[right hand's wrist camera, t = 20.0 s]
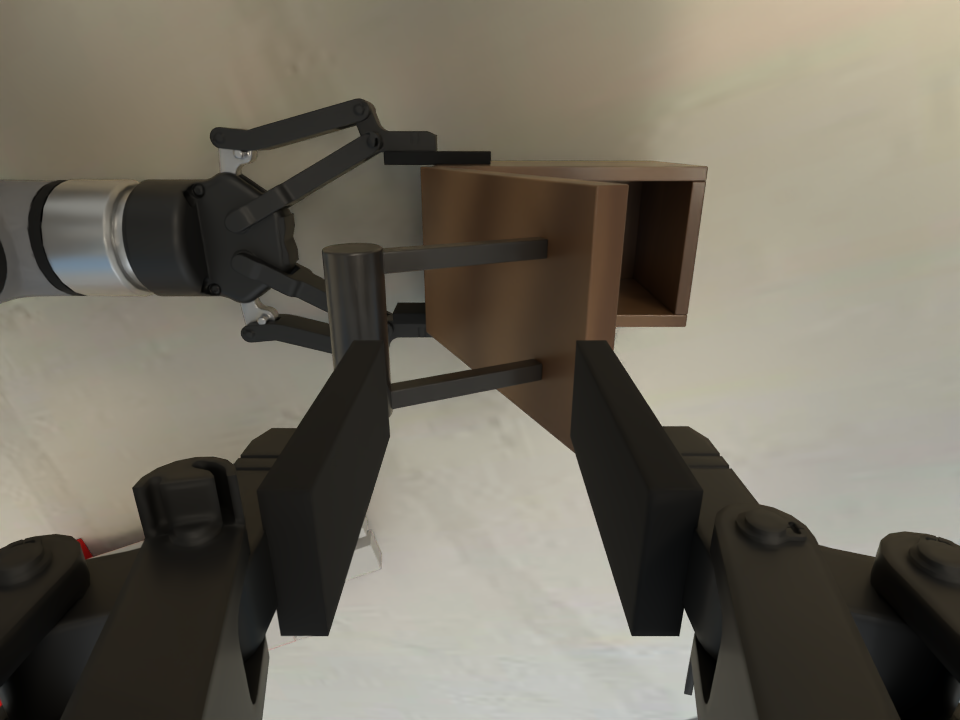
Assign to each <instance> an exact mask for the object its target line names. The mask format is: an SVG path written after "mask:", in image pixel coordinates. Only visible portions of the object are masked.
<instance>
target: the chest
mask: <svg viewBox="0 0 960 720" xmlns="http://www.w3.org/2000/svg"><path fill="white" fill-rule="evenodd" d="M433 167H451V168H462V169H472V170H482V171H493V172H503V173H514V174H524V175H535V176H545V177H556V178H566V179H577V180H587V181H598V182H608V183H619V184H627V185H628V186H629V188H628V199H627V210H626V221H625V232H624V242H623V253H622V264H621V275H620V286H619V296H618V307H617V318H616V327H685V326H686V320H687V315H686V314H688V307H689V299H690V292H691V285H692V278H693V271H694V264H695V256H696V249H697V242H698V235H699V228H700V221H701V214H702V206H703V199H704V192H705V185H706V182H705V181H706V177H707V170H708V167H707V166H697V165H687V164H677V163H667V162H657V161H491V164H436V165H434V166H433Z"/></svg>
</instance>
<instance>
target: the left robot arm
mask: <svg viewBox="0 0 960 720" xmlns="http://www.w3.org/2000/svg"><path fill="white" fill-rule="evenodd" d="M356 125H357V128H358V130H359V132H360V135H361V136H360V137H359V138H357V139H355V140H354V141H352V142H350V143H349V144H347V145H345V146H344V147H342V148H340V149H339V150H337V151H335V152H334V153H332V154H330V155H329V156H327V157H325V158H324V159H322V160H320V161H319V162H317V163H315V164H314V165H312V166H310V167H309V168H307V169H305V170H304V171H302V172H300V173H299V174H297V175H295V176H294V177H292V178H290V179H289V180H287V181H285V182H284V183H282V184H280V185H278V186H276V187H274V188H272V189H270V190H269V191H266V190H265V189H263V188H262V187H260V186H259V185H257V184H256V183H255V182H253V181H252V180H250V179H249V178H247V177H246V176H244V175H243V174H241V171H242V168H243V166H244V165H246V164H248V163H253V162H254V161H255V160H256V159H257V151H259V150H271V149H275V148H279V147H282V146H286V145H289V144H293V143H296V142H300V141H303V140H307V139H310V138H314V137H318V136H321V135H325V134H328V133H332V132H335V131H339V130H342V129H346V128H349V127H353V126H356ZM210 139H211V142H212V143H213V145H214V146H216V147H217V148H218V149H219V164H220V173H218V174H216V175H215V176H213V177H212V178H210V179H207V180H144V181H142V182H138V181H136V180H58V181H33V180H0V303H3V302H6V301H9V300H13V299H17V298H23V297H33V296H150V295H153V294H156V295H159V296H223V297H227V298H230V299H232V300H234V301H236V302H239V303H240V304H241V308H242V312H243V316H244V320H245V324H246V326H245V327H244V328H243V329H242V330H241V336H242V338H243V339H244V340H245V341H247V342H262V341H273V340H277V341H281V342H285V343H290V344H294V345H298V346H302V347H306V348H311V349H315V350H319V351H323V352H328V353H332V346H331V336H330V326H329V324H328V323H324V322H320V321H316V320H312V319H307V318H303V317H299V316H295V315H289V314H278V312H277V310H276V309H275V308H273V307H269V306H265V305H263V304H262V303H261V302H260V299H259V297H260V296H262V295H263V294H264V293H265V292H267V291H268V290H269V289H271V288H273V289H275V290H277V291H279V292H281V293H283V294H285V295H287V296H290V297H297V298H299V299H301V300H303V301H305V302H307V303H310V304H312V305H314V306H316V307H318V308H320V309H322V310H324V311H326V312H328V306H327V296H326V286H325V279H323V278H321V277H319V276H317V275H315V274H313V273H312V271H311V270H309V269H308V268H306V267H304V266H302V265H300V264H298V263H296V261H297V260H299V258H298V249H297V246H296V243H295V241H294V238H293V234H294V227H295V223H294V214H293V213H290V211H289V209H288V208H289V207H290V206H292V205H294V204H295V203H297V202H299V201H300V200H302V199H304V198H305V197H306V196H308V195H310V194H311V193H313V192H315V191H316V190H318V189H320V188H321V187H323V186H325V185H327V184H328V183H330V182H332V181H333V180H335V179H337V178H338V177H340V176H342V175H343V174H345V173H347V172H348V171H350V170H352V169H354V168H355V167H357V166H359V165H360V164H362V163H364V162H365V161H367V160H369V159H370V158H372V157H374V156H375V155H377V154H379V153H381V152H384V165H436V164H491V152H490V151H437V135H435V134H433V133H430V132H428V131H387V130H385V129H384V128H383V127H382V126H381V124H380V122H379V119H378V117H377V114H376V109H375V107H374V105H373V104H372V103H370V102H368V101H366V100H363V99H353V100H350V101H346V102H343V103H340V104H336V105H333V106H329V107H326V108H322V109H319V110H315V111H312V112H308V113H305V114H302V115H298V116H295V117H291V118H288V119H284V120H281V121H277V122H274V123H270V124H267V125H263V126H260V127H257V128H253V129H250V130H247V129H237V128H223V127H217V128H214V129H213V130H212V131H211V133H210ZM387 327H388V343H389V346H390V343H391V341H392V340H393V339H395V338H398V337H432V336H431V335H430V334H428V333H427V332H426V309H425V303H397V306H396V308H395V310H394V312H393V314H392V313H390V312H388V311H387Z"/></svg>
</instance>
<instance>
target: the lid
mask: <svg viewBox="0 0 960 720" xmlns="http://www.w3.org/2000/svg"><path fill="white" fill-rule="evenodd" d="M628 188H629V186H628V185H627V184H619V183H608V182H598V181H587V180H577V179H566V178H556V177H545V176H535V175H524V174H514V173H503V172H493V171H482V170H472V169H462V168H451V167H421V194H422V223H423V245H422V246H409V247H396V248H382V247H381V246H379V245H375V244H368V243H347V244H337V245H331V246H328V247H325V248H323V250H322V256H323V266H324V276H325V286H326V296H327V306H328V316H329V326H330V336H331V346H332V356H333V366H334V370H335V368H336V367H337V365H338V364H339V362H340V361H341V359H342V358H343V356H344V354H345V353H346V351H347V350H348V348H349V347H350V345H351V344H352V342H353V341H354V340H384V352H385V368H386V383H387V398H388V414H389V417H390V416H391V414H392V411H393V409H395V408H401V407H406V406H411V405H416V404H421V403H426V402H431V401H437V400H442V399H447V398H452V397H457V396H462V395H467V394H473V393H478V392H483V391H488V390H493V389H497V390H498V391H499V392H501V393H502V394H503V395H504V396H506V397H507V398H508V399H509V400H510V401H512V402H513V403H514V404H515V405H517V406H518V407H519V408H520V409H521V410H523V411H524V412H525V413H526V414H528V415H529V416H530V417H531V418H532V419H534V420H535V421H536V422H537V423H539V424H540V425H541V426H542V427H543V428H545V429H546V430H547V431H548V432H550V433H551V434H552V435H553V436H554V437H556V438H557V439H558V440H559V441H561V442H562V443H563V444H564V445H565V446H567V447H568V448H569V449H570V450H572V451H573V452H574V453H575V451H574V448H573V444H572V441H571V438H570V429H571V414H572V398H573V383H574V368H575V352H576V340H606V341H607V342H608V344H609V345H610V347H611V348H612V350H614V339H615V329H616V318H617V307H618V296H619V286H620V275H621V264H622V253H623V242H624V232H625V221H626V210H627V199H628ZM419 270H424V280H425V309H426V332H427V333H428V334H430V335H431V336H432V337H433V338H435V339H436V340H437V341H438V342H439V343H441V344H442V345H443V346H444V347H446V348H447V349H448V350H449V351H450V352H452V353H453V354H454V355H455V356H457V357H458V358H459V359H460V360H461V361H463V362H464V363H465V364H466V365H468V366H469V367H470V368H471V369H472V370H466V371H460V372H455V373H449V374H443V375H438V376H432V377H426V378H421V379H415V380H409V381H404V382H398V383H392V384H391V376H390V359H389V343H388V327H387V310H386V294H385V277H384V274H387V273H398V272H408V271H419Z"/></svg>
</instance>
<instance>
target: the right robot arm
mask: <svg viewBox="0 0 960 720" xmlns="http://www.w3.org/2000/svg"><path fill="white" fill-rule="evenodd" d="M389 438H390V429H389V414H388V398H387V383H386V368H385V352H384V340H354V341H353V342H352V344H351V345H350V347H349V348H348V350H347V351H346V353H345V354H344V356H343V358H342V359H341V361H340V362H339V364H338V365H337V367H336V368H335V370H334V371H333V373H332V375H331V376H330V378H329V379H328V381H327V382H326V384H325V385H324V387H323V388H322V390H321V392H320V393H319V395H318V396H317V398H316V399H315V401H314V402H313V404H312V405H311V407H310V409H309V410H308V412H307V413H306V415H305V416H304V418H303V419H302V421H301V422H300V424H299V426H298V427H297V428H271V429H270V430H268V431H267V432H265V433H263V434H262V435H260V436H259V437H257V438H255V439H254V440H252V441H251V443H250V444H249V445H248V446H247V448H246V449H245V450H244V452H243V453H242V454H241V458H238V459H237V461H236V462H235V463H234V465H233V464H232V463H231V462H229V461H228V460H226V459H221V458H217V457H194V458H189V459H184V460H179V461H175V462H172V463H170V464H167V465H164V466H162V467H159V468H157V469H155V470H153V471H152V472H150V473H148V474H147V475H145V476H143V477H142V478H141V479H140V480H139V481H138V482H137V483H136V484H135V485H134V487H133V488H132V489H133V493H134V497H135V501H136V504H137V508H138V512H139V516H140V520H141V524H142V527H143V531H144V535H145V539H144V542H143V544H142V546H141V548H137V549H133V550H130V551H125V552H120V553H115V554H110V555H105V556H100V557H95V558H91V559H86V560H85V557H84V554H83V551H82V548H81V544H80V542H78V541H77V540H76V539H74V538H73V537H72V536H66V535H59V534H52V535H43V536H35V537H30V538H26V539H25V540H19V541H16V542H13V543H11V544H9V545H7V546H5V547H3V548H1V549H0V700H1V703H2V705H1V706H0V720H262V717H263V708H264V699H265V691H266V682H267V674H268V665H269V652H268V645H267V639H266V632H267V630H268V628H269V625H270V623H271V621H272V618H273V616H274V614H275V612H276V611H277V617H278V623H279V629H280V634H281V636H328V635H329V632H330V629H331V626H332V622H333V619H334V616H335V613H336V609H337V606H338V603H339V600H340V596H341V593H342V590H343V587H344V583H345V580H346V577H347V574H348V571H349V567H350V564H351V561H352V558H353V554H354V551H355V548H356V545H357V541H358V538H359V535H360V532H361V528H362V525H363V522H364V519H365V516H366V512H367V509H368V506H369V503H370V499H371V496H372V493H373V490H374V486H375V483H376V480H377V477H378V473H379V470H380V467H381V464H382V461H383V457H384V454H385V451H386V448H387V444H388V441H389ZM570 438H571V441H572V444H573V448H574V451H575V454H576V457H577V461H578V464H579V467H580V470H581V473H582V477H583V480H584V483H585V486H586V490H587V493H588V496H589V499H590V503H591V506H592V509H593V512H594V516H595V519H596V522H597V525H598V528H599V532H600V535H601V538H602V541H603V545H604V548H605V551H606V554H607V558H608V561H609V564H610V567H611V571H612V574H613V577H614V580H615V583H616V587H617V590H618V593H619V596H620V600H621V603H622V606H623V609H624V613H625V616H626V619H627V622H628V626H629V629H630V632H631V635H632V636H679V634H680V629H681V623H682V617H683V611H684V609H685V611H686V613H687V616H688V618H689V620H690V622H691V625H692V627H693V629H694V631H695V634H694V639H693V645H692V650H691V656H690V662H689V667H688V673H687V678H686V684H685V691H684V694H688V695H692V691H693V686H694V690H695V698H696V707H697V715H698V720H960V703H959V700H960V546H959V545H957V544H955V543H953V542H952V541H950V540H947V539H944V538H941V537H936V536H933V535H929V534H922V533H914V532H898V533H891V534H888V535H887V536H886V537H884V538H883V539H882V540H881V541H880V544H879V548H878V551H877V554H876V557H872V556H867V555H862V554H857V553H852V552H847V551H842V550H837V549H832V548H829V547H825V546H821V545H818V543H817V541H816V538H815V537H814V535H813V534H812V533H811V532H810V530H809V529H808V528H807V526H806V525H804V524H803V523H801V522H800V521H799V520H797V519H796V518H794V517H793V516H792V515H789V514H787V513H785V512H782V511H780V510H778V509H776V508H773V507H769V506H764V505H760V504H759V503H758V502H757V501H756V500H755V498H754V497H753V496H752V494H751V493H750V492H749V491H748V489H747V488H746V487H745V485H744V484H743V483H742V482H741V480H740V479H739V478H738V476H737V475H736V474H735V472H734V471H733V470H732V469H729V465H728V463H727V462H726V461H725V460H724V458H723V457H722V456H720V453H719V452H718V451H717V449H716V448H715V447H714V445H713V444H712V443H711V442H710V440H709V439H708V438H706V437H705V436H703V435H701V434H700V433H698V432H697V431H695V430H693V429H692V428H690V427H689V426H661V424H660V422H659V421H658V419H657V418H656V416H655V415H654V413H653V412H652V410H651V409H650V407H649V405H648V404H647V402H646V401H645V399H644V398H643V396H642V395H641V393H640V392H639V390H638V388H637V387H636V385H635V384H634V382H633V381H632V379H631V378H630V376H629V375H628V373H627V371H626V370H625V368H624V367H623V365H622V364H621V362H620V361H619V359H618V358H617V356H616V354H615V353H614V351H613V350H612V348H611V347H610V345H609V344H608V342H607V341H606V340H576V352H575V368H574V383H573V398H572V414H571V429H570Z"/></svg>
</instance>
